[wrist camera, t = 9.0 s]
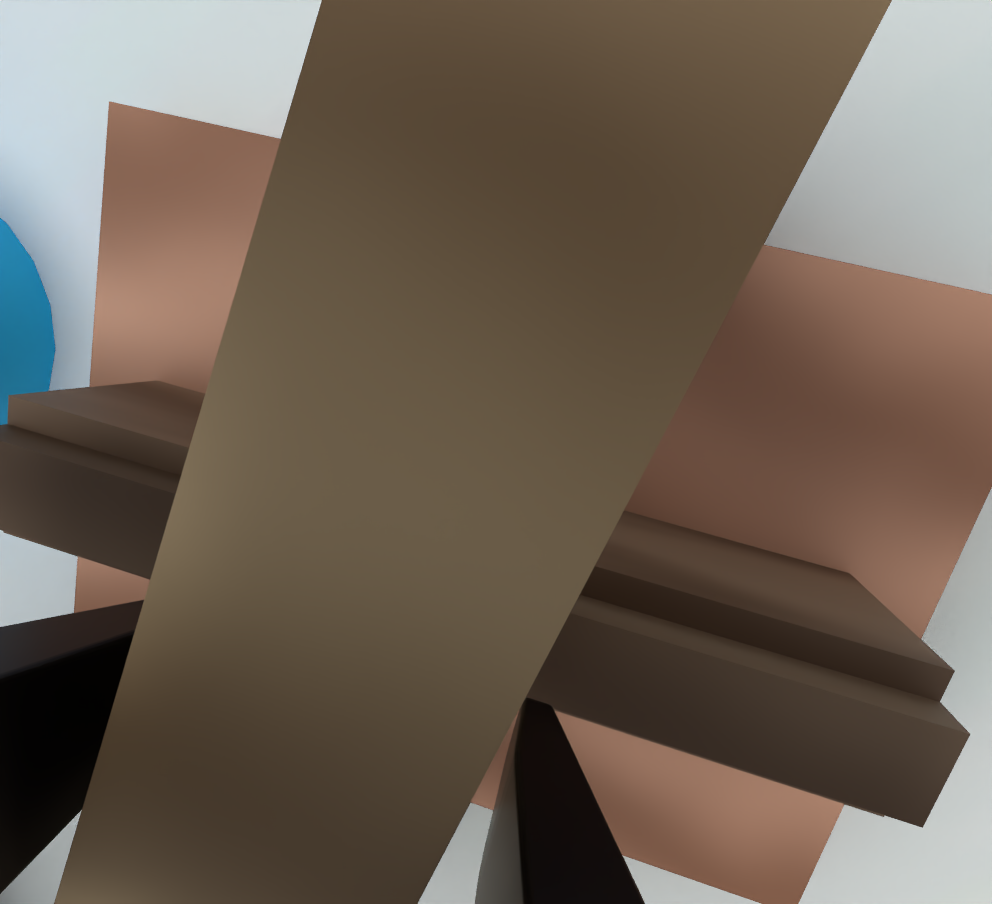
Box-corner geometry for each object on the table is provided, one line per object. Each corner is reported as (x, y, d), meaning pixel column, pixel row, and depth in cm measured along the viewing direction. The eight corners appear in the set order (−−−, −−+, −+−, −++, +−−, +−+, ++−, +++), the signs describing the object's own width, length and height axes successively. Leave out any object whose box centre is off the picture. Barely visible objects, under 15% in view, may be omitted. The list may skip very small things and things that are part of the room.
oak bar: (557, -65, 8) (501, -606, 3) (804, 33, 7) (1107, -412, 3) (172, 945, 13) (-55, 1268, 8) (312, 1025, 12) (154, 1403, 8)
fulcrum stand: (779, 873, 16) (879, 1168, 11) (102, 642, 19) (-116, 778, 13) (1028, 314, 13) (1395, 296, 7) (146, 119, 15) (-132, -15, 9)
